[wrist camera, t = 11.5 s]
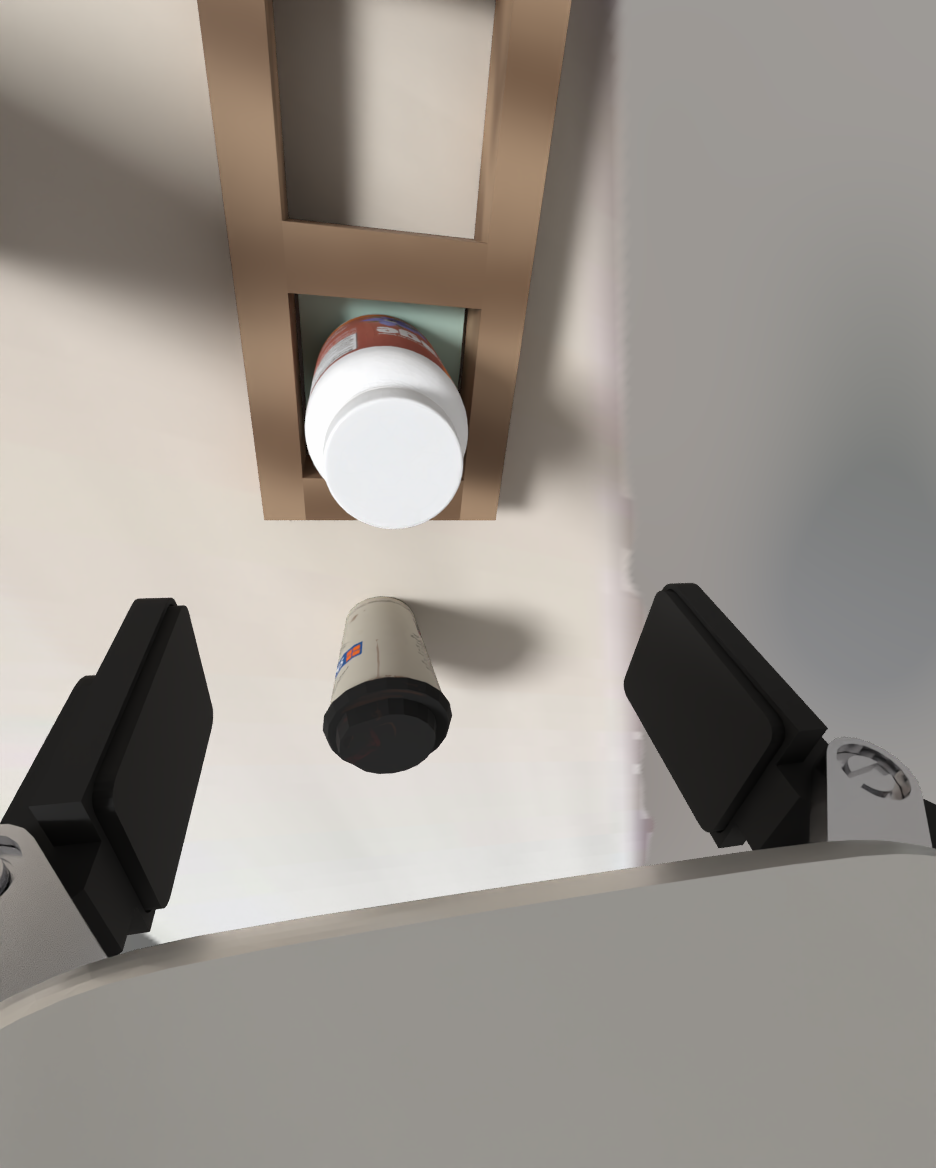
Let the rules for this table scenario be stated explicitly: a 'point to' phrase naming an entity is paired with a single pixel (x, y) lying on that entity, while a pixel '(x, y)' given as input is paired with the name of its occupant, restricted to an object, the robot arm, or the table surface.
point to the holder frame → (380, 252)
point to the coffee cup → (385, 691)
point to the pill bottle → (385, 423)
